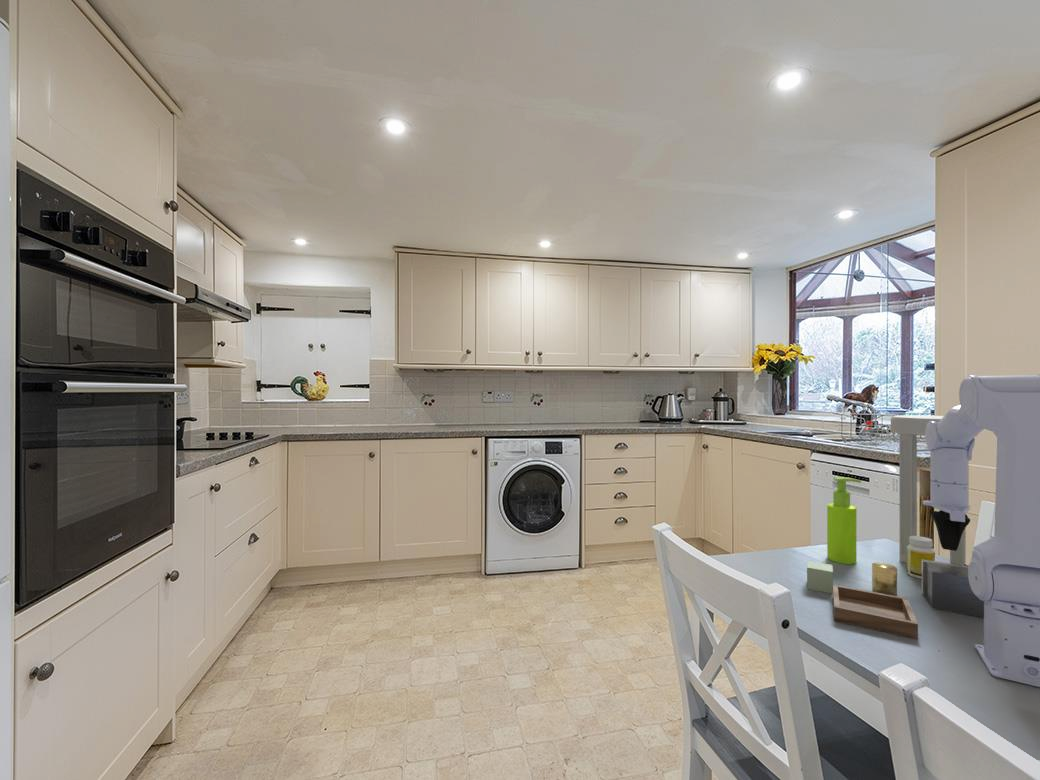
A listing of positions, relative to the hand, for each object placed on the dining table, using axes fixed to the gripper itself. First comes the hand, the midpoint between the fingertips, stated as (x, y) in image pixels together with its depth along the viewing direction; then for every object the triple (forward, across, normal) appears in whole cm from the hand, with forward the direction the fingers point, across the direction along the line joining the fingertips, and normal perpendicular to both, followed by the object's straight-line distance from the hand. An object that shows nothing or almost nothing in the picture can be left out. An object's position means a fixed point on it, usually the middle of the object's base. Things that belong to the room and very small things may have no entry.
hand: (949, 549), depth 95 cm
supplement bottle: (+10, -10, -3) cm, 14 cm away
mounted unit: (+9, +6, 0) cm, 11 cm away
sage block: (+10, +9, -22) cm, 26 cm away
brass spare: (+9, +7, -11) cm, 16 cm away
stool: (+10, -23, +1) cm, 25 cm away
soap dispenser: (+10, -13, -17) cm, 23 cm away
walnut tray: (+9, +19, -14) cm, 25 cm away
